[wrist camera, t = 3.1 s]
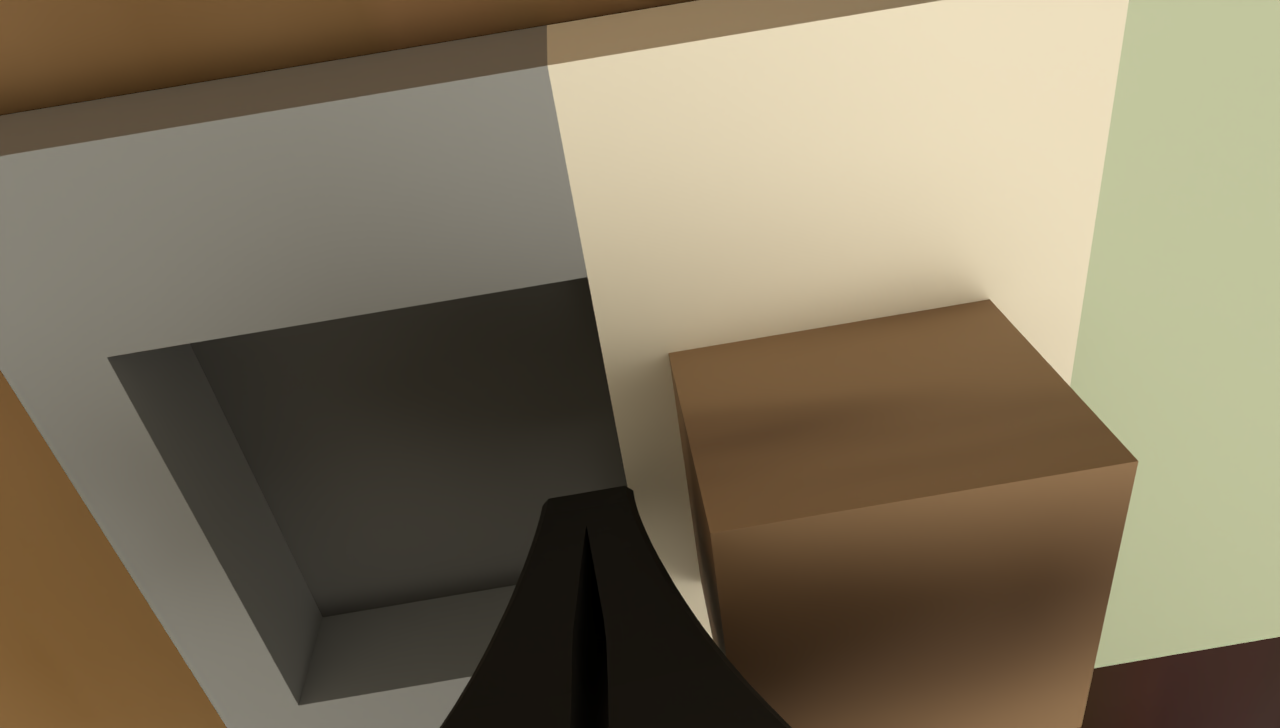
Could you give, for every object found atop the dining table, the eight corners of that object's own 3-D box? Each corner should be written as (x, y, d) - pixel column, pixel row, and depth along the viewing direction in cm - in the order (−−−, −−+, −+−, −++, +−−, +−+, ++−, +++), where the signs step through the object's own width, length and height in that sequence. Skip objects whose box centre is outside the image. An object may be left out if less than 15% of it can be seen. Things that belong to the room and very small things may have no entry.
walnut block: (968, 536, 16) (1081, 726, 13) (701, 581, 16) (742, 784, 13) (989, 299, 14) (1138, 460, 10) (668, 352, 13) (710, 533, 10)
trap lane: (1642, 478, 21) (1767, 553, 19) (304, 705, 21) (277, 806, 19) (2081, -229, 13) (2372, -238, 11) (-16, 118, 13) (-123, 176, 11)
